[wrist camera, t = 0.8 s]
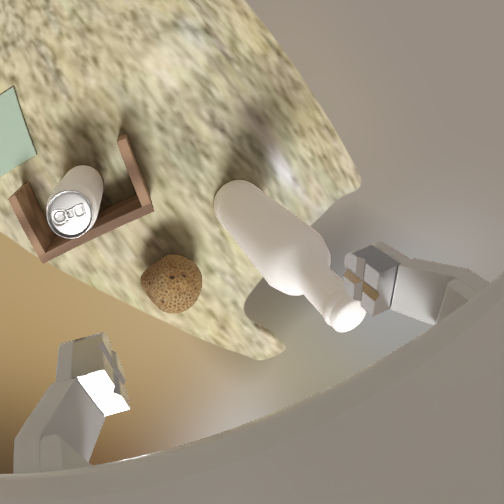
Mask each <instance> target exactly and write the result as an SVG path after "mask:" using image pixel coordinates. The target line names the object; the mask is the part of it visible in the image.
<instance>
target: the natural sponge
mask: <svg viewBox="0 0 504 504" xmlns="http://www.w3.org/2000/svg"><path fill="white" fill-rule="evenodd" d="M141 285H142V288H143V290H144V291H145V293H146V294H147V296H148V297H149V298H150V299H151V301H152V302H153V303H154V304H155V305H156V306H157V307H158V308H159V309H160V310H162V311H164V312H167V313H180V312H183V311H186V310H187V309H189V308H190V307H191V306H192V305H193V304H194V303H195V302H196V301H197V299H198V297H199V294H200V291H201V288H202V275H201V272H200V270H199V268H198V267H197V266H196V265H195V263H193V262H192V261H191V260H190V259H188V258H185V257H183V256H179V255H173V254H172V255H167V256H164V257H162V258H161V259H159V260H158V261H157V262H155V263H154V264H153V265H151V266H150V267H149V268H148V269H146V270H145V271H144V273H143V274H142V276H141Z"/></svg>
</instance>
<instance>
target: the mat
mask: <svg viewBox="0 0 504 504" xmlns="http://www.w3.org/2000/svg"><path fill="white" fill-rule="evenodd" d="M35 155H37V153H36V150H35V147H34V145H33V142H32V140H31V137H30V134H29V131H28V129H27V126H26V123H25V120H24V117H23V114H22V111H21V108H20V105H19V102H18V99H17V96H16V92H15V89H14V87H12V88H11V89H9V90H8V91H6V92H4V93H3V94H1V95H0V177H1V176H2V175H4V174H5V173H7V172H9V171H10V170H12V169H13V168H15V167H17V166H18V165H20V164H21V163H23V162H25V161H26V160H28V159H30V158H32V157H33V156H35Z"/></svg>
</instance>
